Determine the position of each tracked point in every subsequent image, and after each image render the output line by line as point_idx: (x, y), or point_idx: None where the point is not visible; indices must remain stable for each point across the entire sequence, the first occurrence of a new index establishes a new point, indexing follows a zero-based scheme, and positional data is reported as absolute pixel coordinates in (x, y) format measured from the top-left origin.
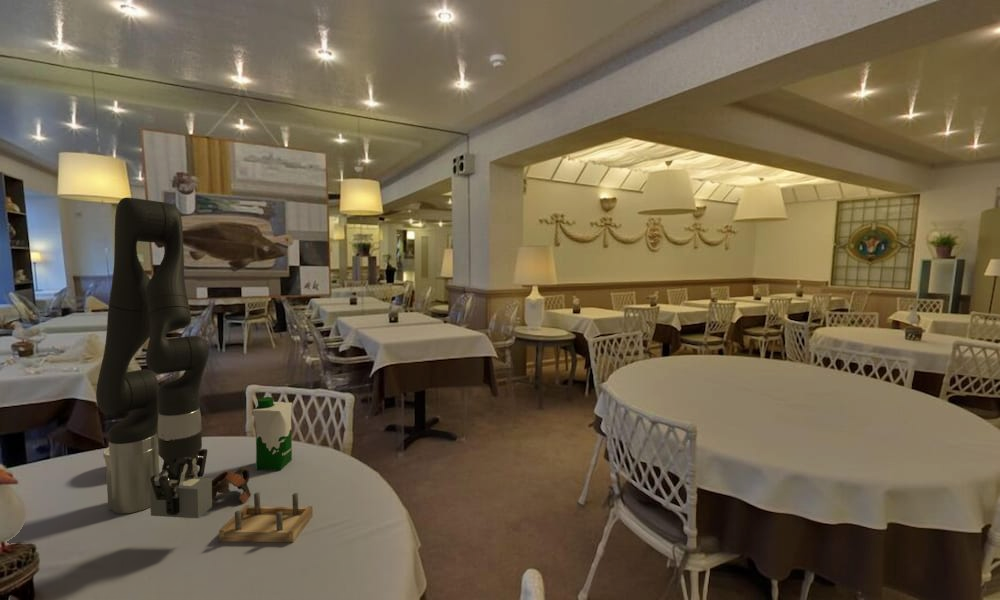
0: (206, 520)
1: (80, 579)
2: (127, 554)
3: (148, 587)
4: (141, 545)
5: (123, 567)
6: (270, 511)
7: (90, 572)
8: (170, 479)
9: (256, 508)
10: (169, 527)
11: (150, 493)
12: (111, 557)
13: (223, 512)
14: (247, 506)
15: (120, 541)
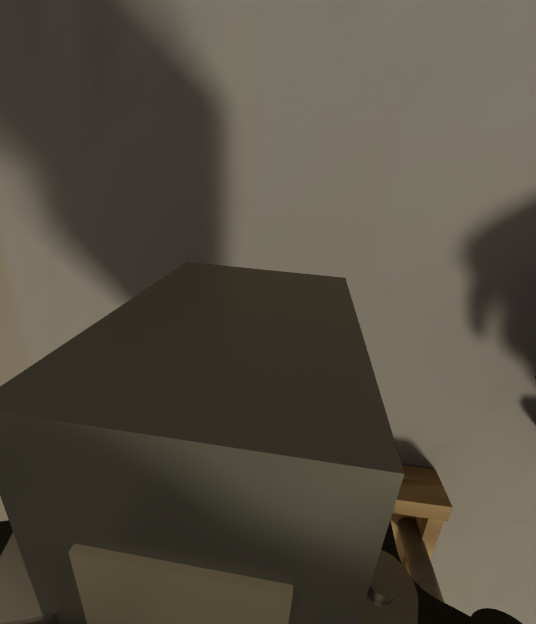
0: (421, 346)
1: (21, 76)
2: (183, 156)
3: (43, 356)
4: (246, 173)
5: (108, 206)
6: (405, 565)
7: (62, 82)
8: (229, 589)
9: (405, 552)
10: (386, 210)
11: (70, 343)
12: (159, 93)
13: (480, 385)
14: (436, 517)
15: (281, 23)
